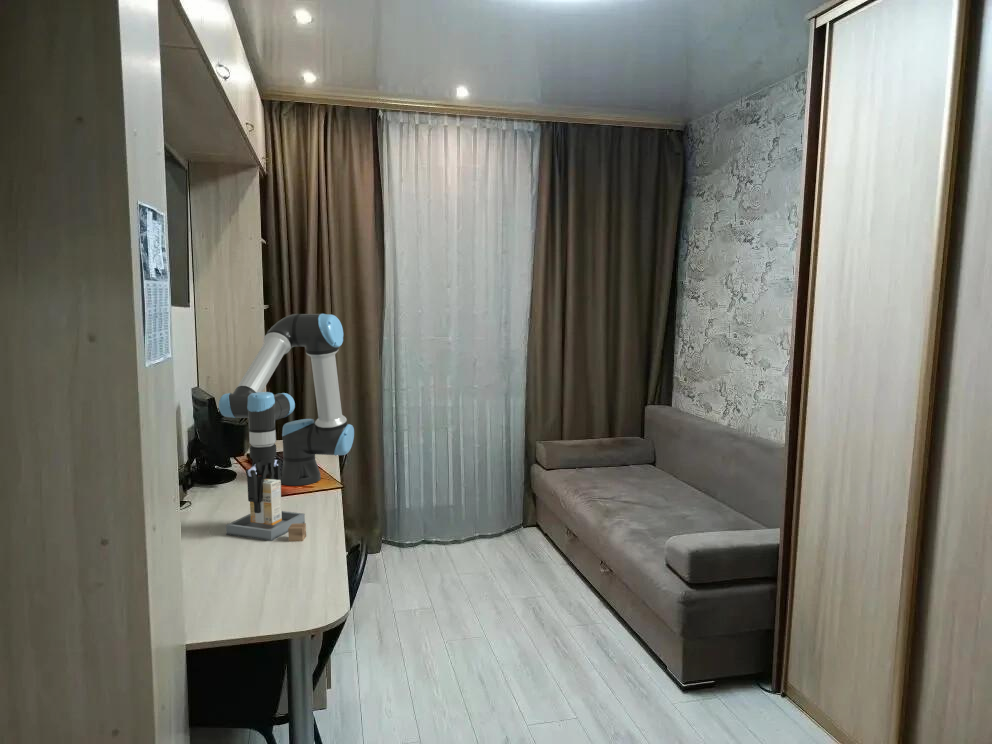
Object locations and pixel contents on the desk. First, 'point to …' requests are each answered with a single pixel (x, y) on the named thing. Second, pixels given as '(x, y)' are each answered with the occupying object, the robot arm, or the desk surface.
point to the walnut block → (297, 532)
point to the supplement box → (270, 502)
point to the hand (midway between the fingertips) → (266, 519)
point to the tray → (263, 527)
